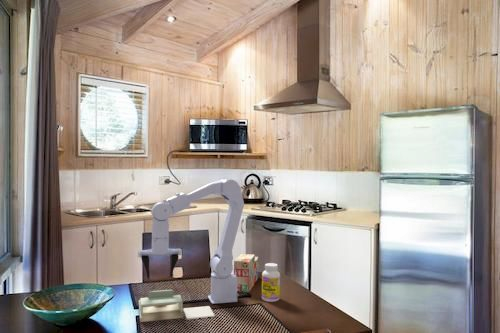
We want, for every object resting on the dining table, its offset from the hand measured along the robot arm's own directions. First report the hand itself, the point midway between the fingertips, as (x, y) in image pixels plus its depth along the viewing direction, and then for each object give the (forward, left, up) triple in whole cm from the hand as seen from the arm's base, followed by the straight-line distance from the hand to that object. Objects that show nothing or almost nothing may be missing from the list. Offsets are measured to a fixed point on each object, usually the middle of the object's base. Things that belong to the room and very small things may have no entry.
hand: (159, 276), depth 135 cm
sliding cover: (0, +8, -9) cm, 12 cm away
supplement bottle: (-40, +3, -10) cm, 41 cm away
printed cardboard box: (-37, -17, -10) cm, 42 cm away
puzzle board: (0, +4, -10) cm, 11 cm away
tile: (-12, +10, -10) cm, 19 cm away
